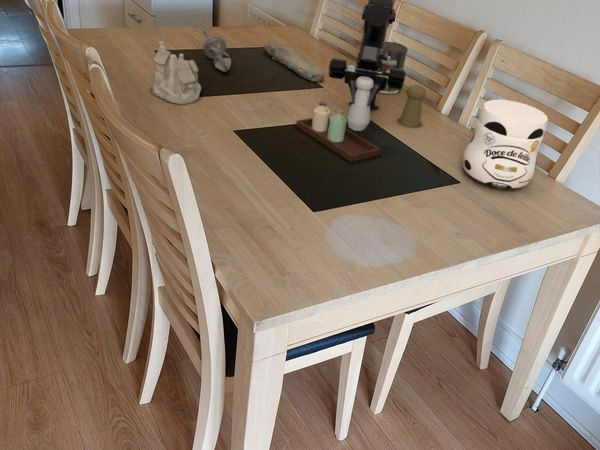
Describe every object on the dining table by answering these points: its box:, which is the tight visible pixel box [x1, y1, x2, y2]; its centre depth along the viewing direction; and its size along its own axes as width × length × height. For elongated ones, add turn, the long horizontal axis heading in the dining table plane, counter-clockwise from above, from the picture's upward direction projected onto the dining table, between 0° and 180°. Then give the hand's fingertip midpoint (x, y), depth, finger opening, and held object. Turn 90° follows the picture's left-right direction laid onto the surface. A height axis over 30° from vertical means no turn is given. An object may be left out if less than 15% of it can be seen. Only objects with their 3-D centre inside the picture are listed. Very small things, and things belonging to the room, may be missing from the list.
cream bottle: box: [311, 101, 331, 132], centre depth 161 cm, size 4×4×7 cm
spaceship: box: [202, 25, 232, 73], centre depth 202 cm, size 8×35×8 cm
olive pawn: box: [399, 84, 426, 128], centre depth 173 cm, size 6×6×11 cm
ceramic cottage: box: [151, 40, 202, 105], centre depth 172 cm, size 16×16×15 cm
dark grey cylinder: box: [379, 41, 409, 95], centre depth 195 cm, size 10×10×14 cm
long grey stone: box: [263, 41, 325, 82], centre depth 207 cm, size 35×5×10 cm
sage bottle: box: [327, 108, 348, 142], centre depth 156 cm, size 4×4×8 cm
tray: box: [295, 117, 382, 163], centre depth 158 cm, size 10×23×2 cm, turn 37°
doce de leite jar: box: [462, 99, 549, 191], centre depth 146 cm, size 17×17×18 cm
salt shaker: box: [346, 76, 374, 132], centre depth 147 cm, size 6×6×13 cm
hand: (360, 105), depth 146 cm, fingers closed on salt shaker, 3 cm apart
